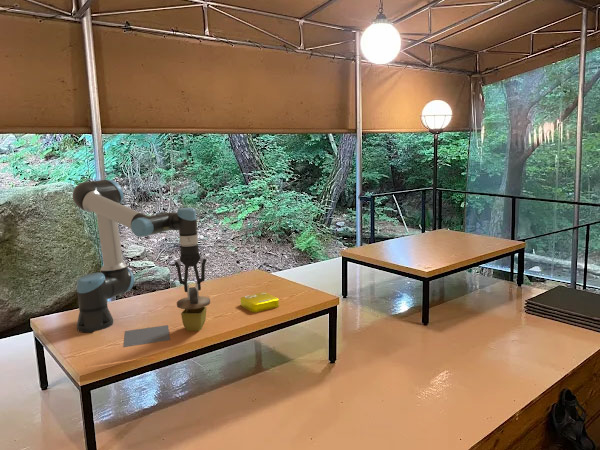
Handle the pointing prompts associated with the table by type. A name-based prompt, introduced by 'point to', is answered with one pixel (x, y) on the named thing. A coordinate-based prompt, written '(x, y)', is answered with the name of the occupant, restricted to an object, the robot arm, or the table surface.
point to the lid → (193, 300)
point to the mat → (146, 335)
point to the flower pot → (194, 318)
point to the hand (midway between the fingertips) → (193, 298)
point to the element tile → (259, 302)
